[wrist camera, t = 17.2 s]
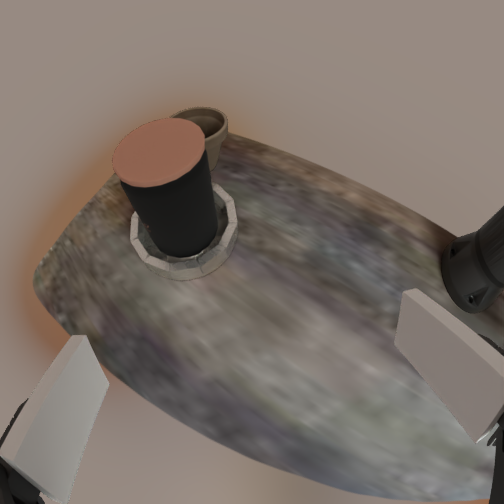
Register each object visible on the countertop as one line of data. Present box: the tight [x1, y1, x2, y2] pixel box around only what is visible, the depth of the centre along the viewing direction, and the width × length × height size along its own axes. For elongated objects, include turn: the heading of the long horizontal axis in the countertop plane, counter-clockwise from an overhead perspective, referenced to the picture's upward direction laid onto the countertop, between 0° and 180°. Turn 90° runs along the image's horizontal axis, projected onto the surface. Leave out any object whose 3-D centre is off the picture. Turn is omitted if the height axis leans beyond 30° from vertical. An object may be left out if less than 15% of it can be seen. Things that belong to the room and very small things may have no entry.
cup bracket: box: [130, 182, 238, 281], centre depth 42 cm, size 16×16×4 cm
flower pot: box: [170, 107, 228, 171], centre depth 46 cm, size 12×11×10 cm
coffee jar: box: [112, 118, 218, 258], centre depth 35 cm, size 11×11×18 cm
